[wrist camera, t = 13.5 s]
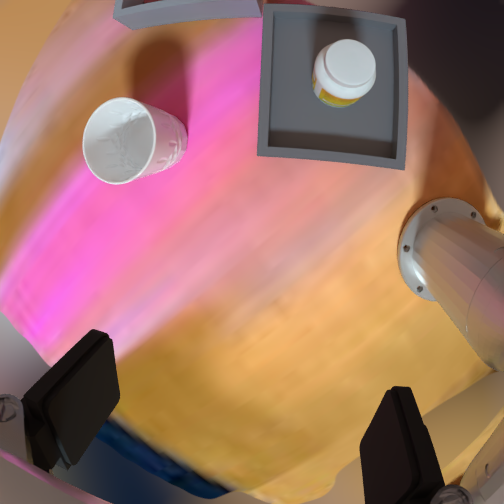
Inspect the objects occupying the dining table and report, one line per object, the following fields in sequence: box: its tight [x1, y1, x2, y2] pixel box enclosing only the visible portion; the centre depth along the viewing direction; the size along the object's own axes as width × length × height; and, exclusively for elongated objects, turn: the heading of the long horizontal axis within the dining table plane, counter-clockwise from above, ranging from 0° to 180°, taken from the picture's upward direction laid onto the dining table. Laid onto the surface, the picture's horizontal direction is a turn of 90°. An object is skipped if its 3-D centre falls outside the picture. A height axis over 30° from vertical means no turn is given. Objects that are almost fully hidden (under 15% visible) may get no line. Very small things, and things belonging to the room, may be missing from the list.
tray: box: [257, 4, 408, 170], centre depth 29 cm, size 15×17×3 cm
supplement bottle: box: [312, 39, 376, 108], centre depth 25 cm, size 5×5×10 cm
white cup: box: [83, 97, 188, 184], centre depth 30 cm, size 8×8×10 cm
